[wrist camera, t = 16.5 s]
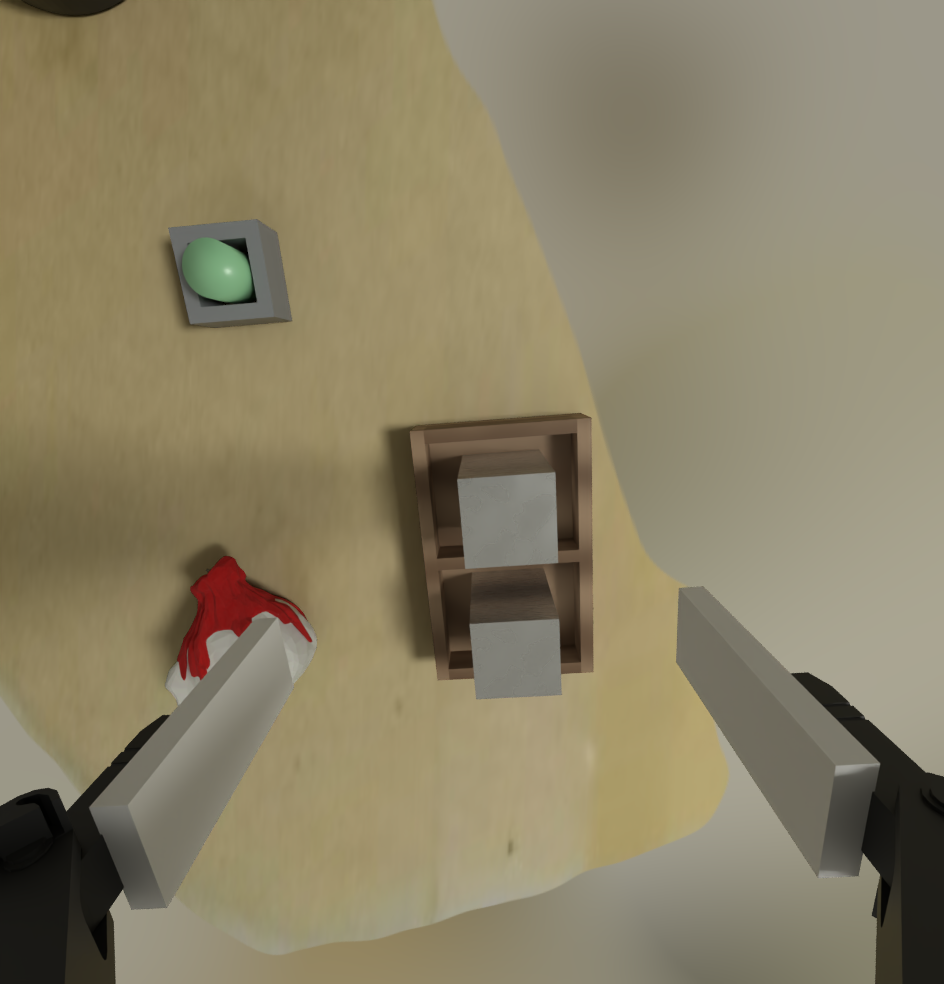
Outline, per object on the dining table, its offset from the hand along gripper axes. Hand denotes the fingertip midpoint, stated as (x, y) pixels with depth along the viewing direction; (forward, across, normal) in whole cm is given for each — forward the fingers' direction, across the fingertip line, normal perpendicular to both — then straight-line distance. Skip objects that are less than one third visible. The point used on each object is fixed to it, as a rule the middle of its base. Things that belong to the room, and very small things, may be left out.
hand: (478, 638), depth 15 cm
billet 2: (+22, +2, -11) cm, 25 cm away
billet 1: (+22, +2, -1) cm, 22 cm away
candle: (+23, -20, -12) cm, 33 cm away
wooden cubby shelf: (+23, +2, -6) cm, 24 cm away
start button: (+22, -16, +16) cm, 32 cm away
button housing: (+23, -16, +16) cm, 32 cm away
